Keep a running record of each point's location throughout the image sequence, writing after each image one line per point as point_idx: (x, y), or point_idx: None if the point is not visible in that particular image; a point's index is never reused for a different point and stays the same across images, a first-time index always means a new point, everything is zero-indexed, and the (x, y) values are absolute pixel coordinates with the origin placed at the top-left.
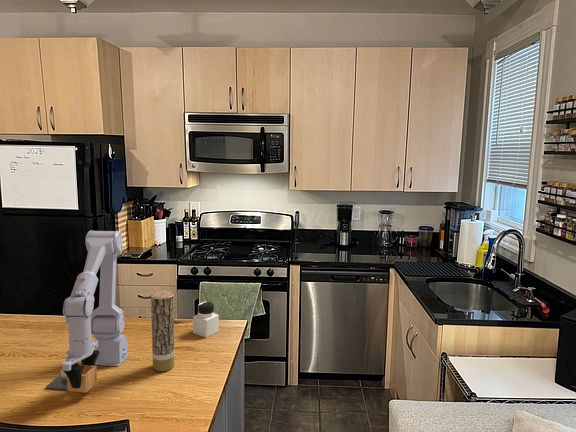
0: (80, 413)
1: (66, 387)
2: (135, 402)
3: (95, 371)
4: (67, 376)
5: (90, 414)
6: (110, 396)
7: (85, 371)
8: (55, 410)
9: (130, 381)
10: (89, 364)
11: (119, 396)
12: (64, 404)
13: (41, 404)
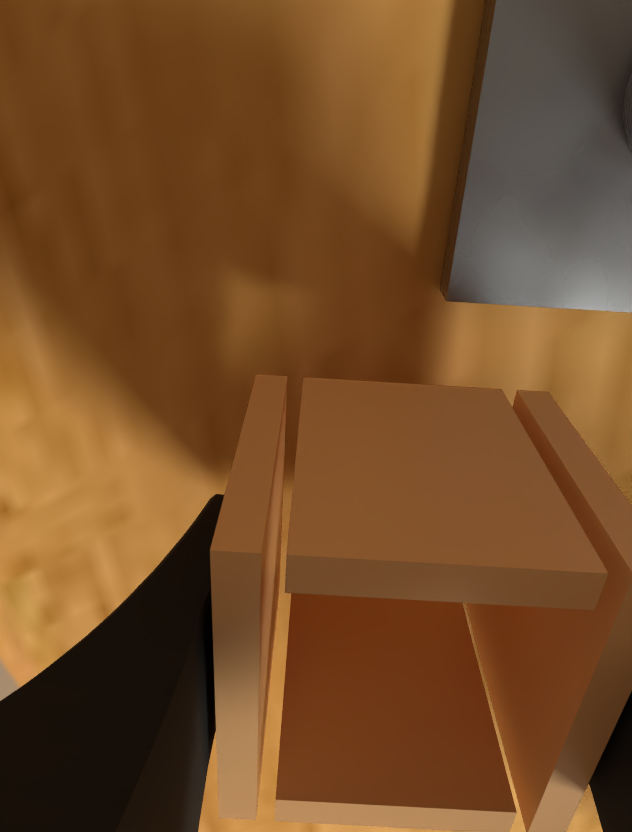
0: (50, 564)
1: (472, 212)
2: None
3: (504, 749)
4: (91, 633)
5: (63, 635)
6: None
7: (539, 618)
8: (16, 316)
9: None
10: (619, 766)
11: None
12: (147, 353)
13: (75, 35)
